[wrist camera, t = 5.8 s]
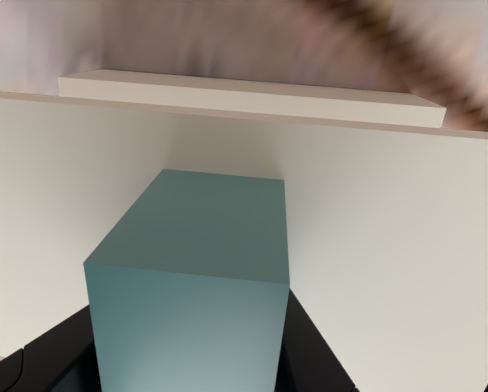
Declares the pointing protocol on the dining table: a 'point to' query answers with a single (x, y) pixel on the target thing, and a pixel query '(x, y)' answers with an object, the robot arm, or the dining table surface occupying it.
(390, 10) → the dining table surface
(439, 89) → the dining table surface
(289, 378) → the robot arm
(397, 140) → the lid
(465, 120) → the dining table surface
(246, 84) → the box base
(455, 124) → the dining table surface
